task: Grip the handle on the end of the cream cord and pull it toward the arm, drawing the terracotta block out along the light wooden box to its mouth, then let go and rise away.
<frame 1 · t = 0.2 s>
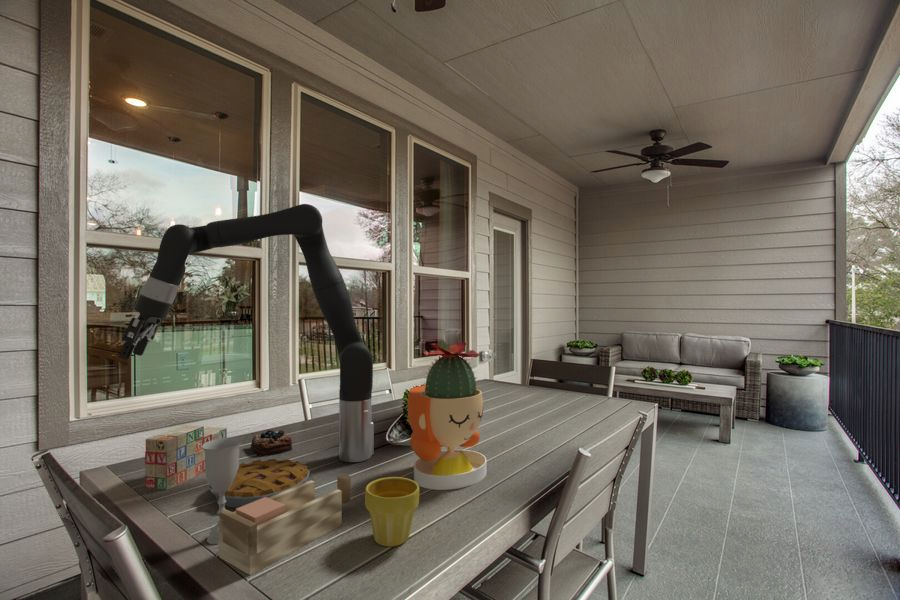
hand: (130, 356, 114), 31 cm above the table, tool tilted 20°, fingers open, 8 cm apart
stack of blocks: (189, 473, 118), on the table
plant pot: (392, 538, 85), on the table
pie: (261, 492, 107), on the table
pastry: (271, 450, 137), on the table
pull block: (302, 504, 88), point 5 cm above the table, slide at 0.0 cm
potted cactus: (443, 473, 119), on the table
light wooden box: (284, 540, 84), on the table
chalice: (221, 538, 85), on the table
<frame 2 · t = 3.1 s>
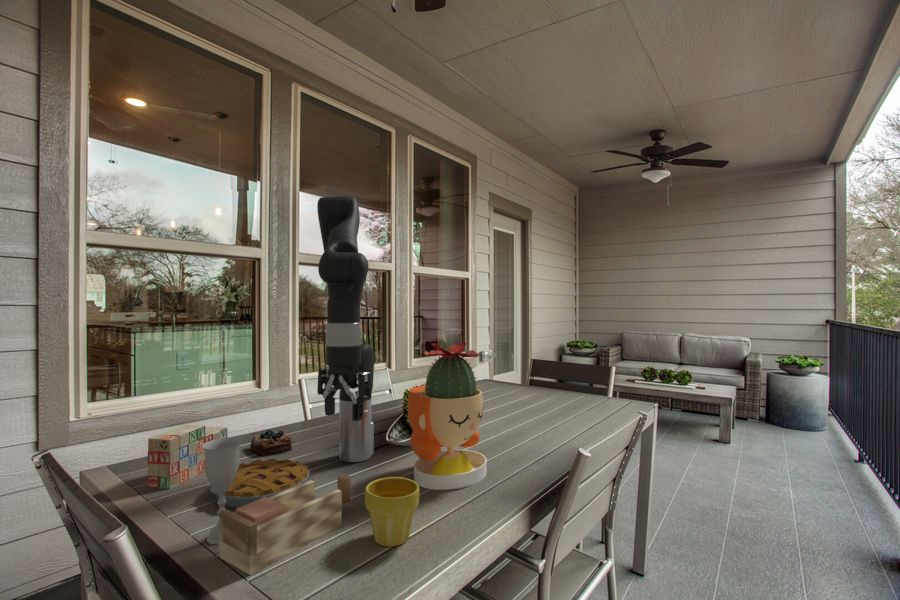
hand: (343, 417, 97), 20 cm above the table, tool pointing down, fingers open, 8 cm apart
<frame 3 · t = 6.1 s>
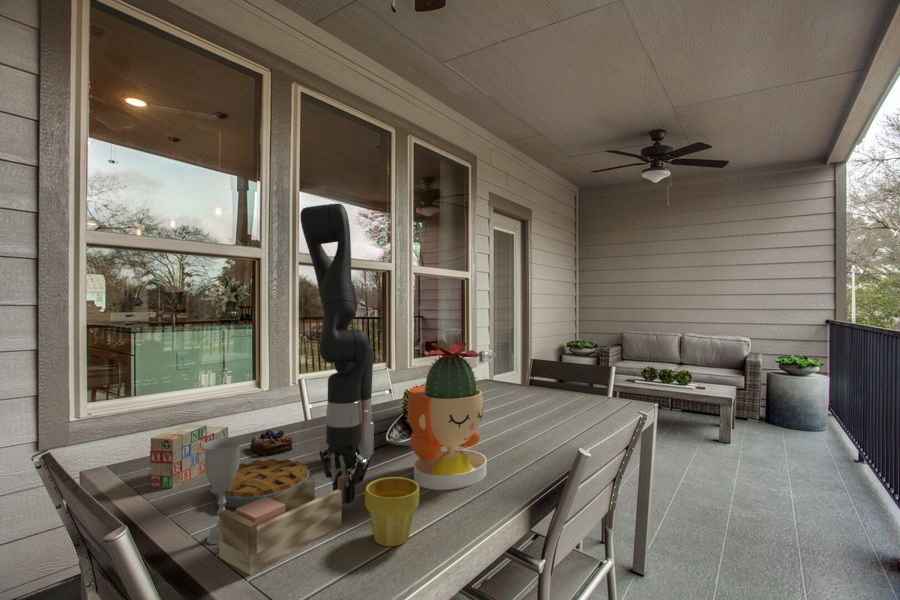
hand: (343, 499, 97), 2 cm above the table, tool pointing down, fingers closed on pull block, 3 cm apart
pull block: (302, 504, 88), point 5 cm above the table, slide at 0.0 cm, touching gripper
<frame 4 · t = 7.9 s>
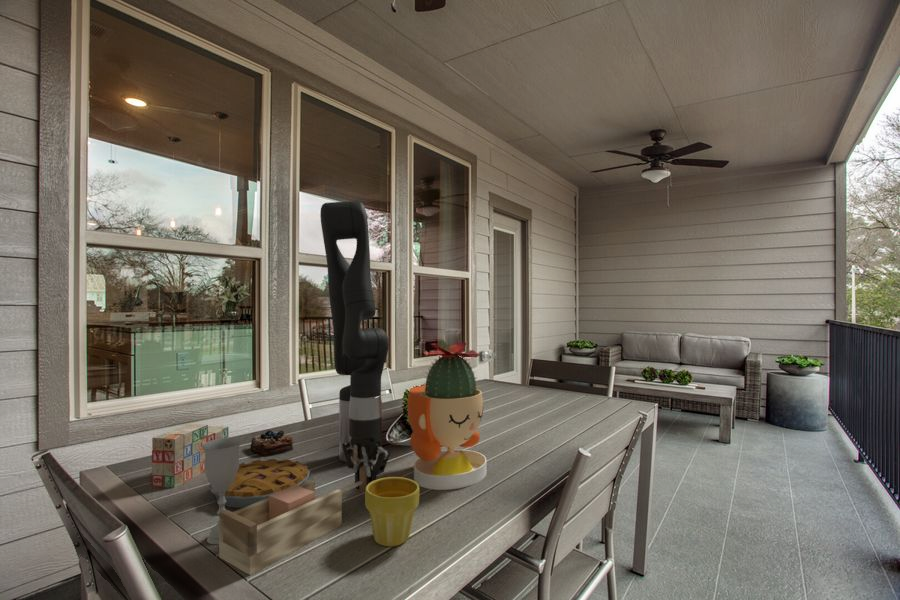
hand: (365, 489, 102), 2 cm above the table, tool pointing down, fingers closed on pull block, 3 cm apart
pull block: (329, 492, 93), point 5 cm above the table, slide at 6.7 cm, touching gripper
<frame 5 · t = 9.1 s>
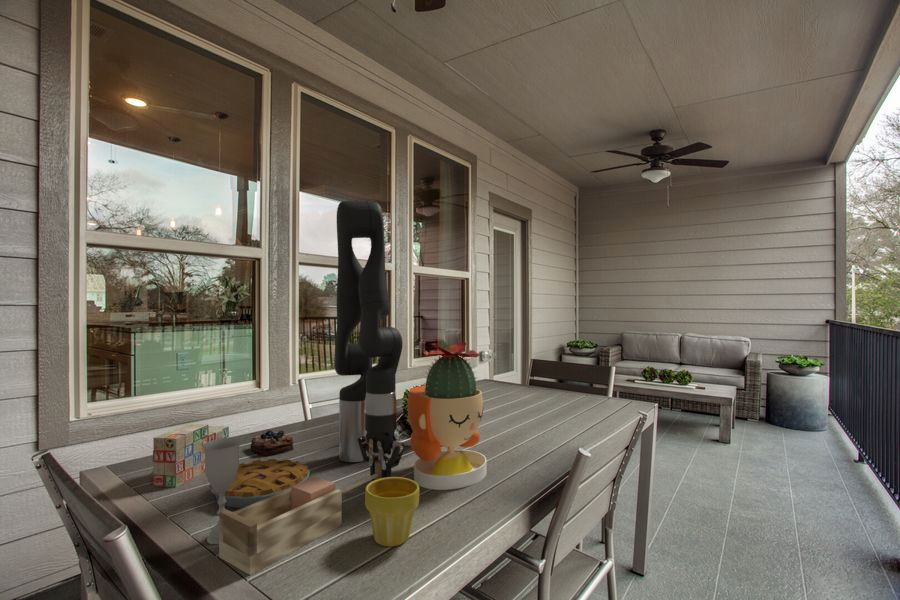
hand: (380, 481, 107), 2 cm above the table, tool pointing down, fingers closed on pull block, 3 cm apart
pull block: (347, 484, 98), point 5 cm above the table, slide at 11.8 cm, touching gripper
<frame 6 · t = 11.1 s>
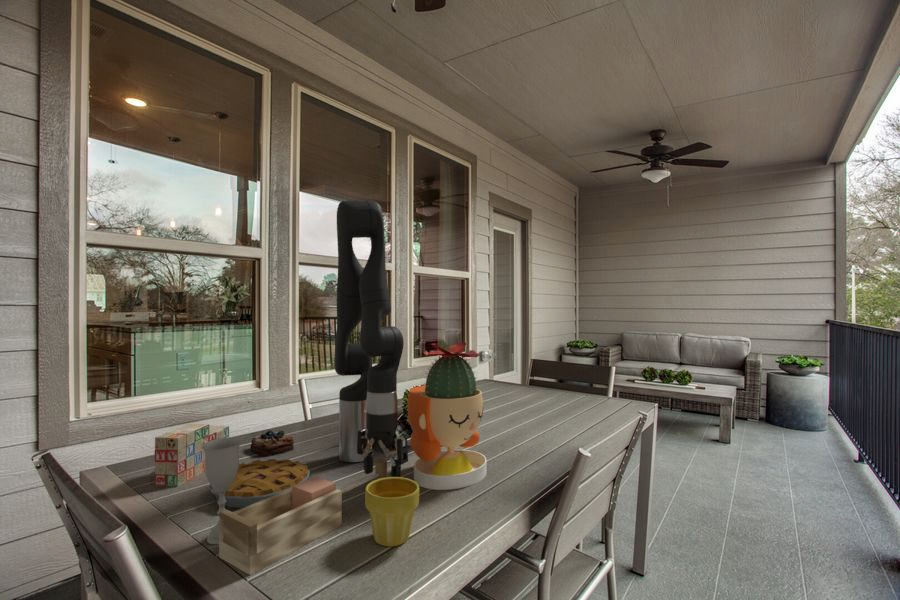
hand: (381, 476, 107), 3 cm above the table, tool pointing down, fingers open, 8 cm apart
pull block: (347, 484, 98), point 5 cm above the table, slide at 11.9 cm
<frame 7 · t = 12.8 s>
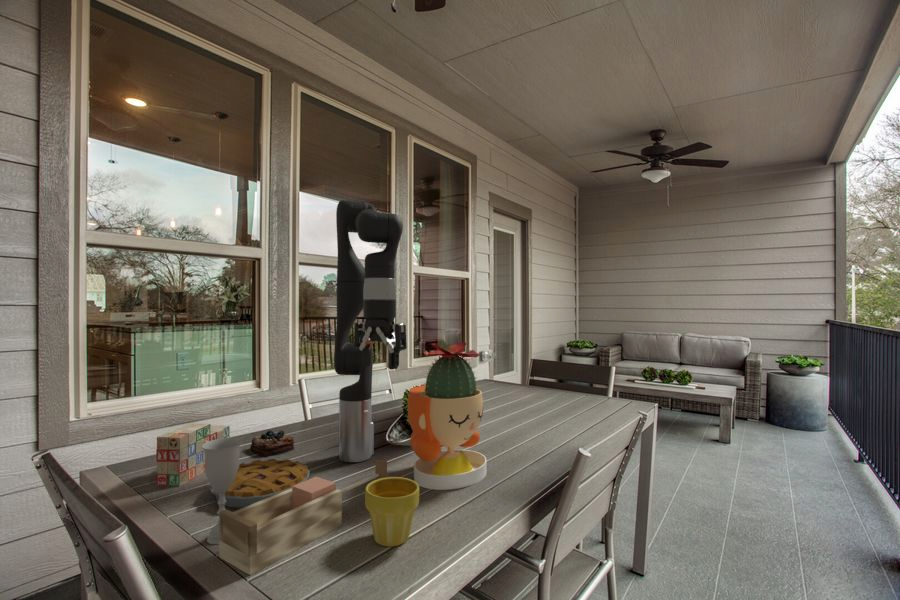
hand: (379, 367, 104), 30 cm above the table, tool pointing down, fingers open, 8 cm apart
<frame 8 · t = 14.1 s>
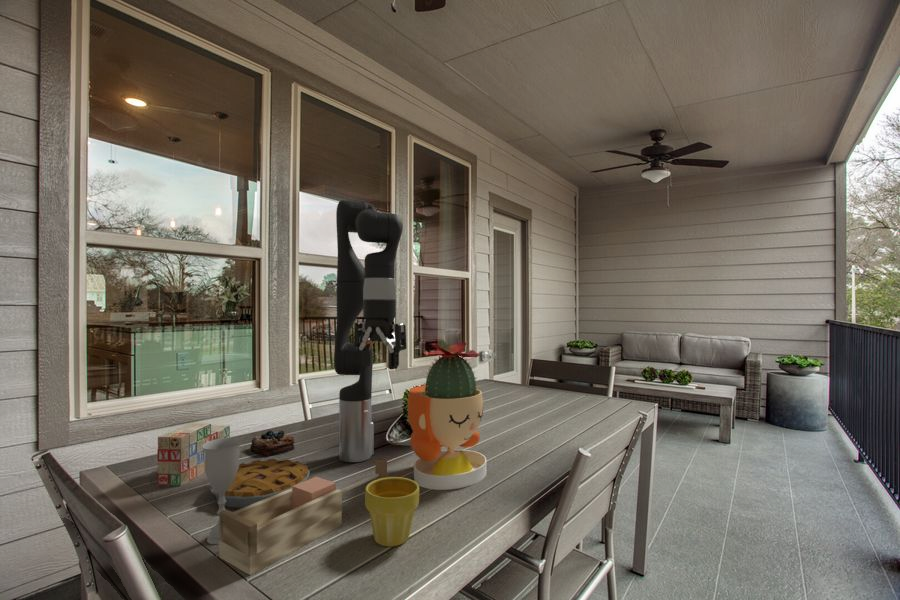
hand: (379, 367, 104), 30 cm above the table, tool pointing down, fingers open, 8 cm apart
at the end: pull block slide at 11.9 cm; the gripper is holding nothing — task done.
